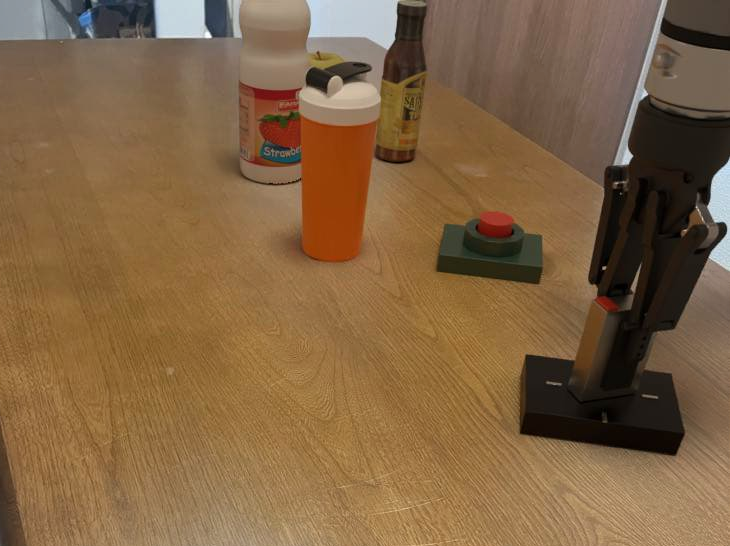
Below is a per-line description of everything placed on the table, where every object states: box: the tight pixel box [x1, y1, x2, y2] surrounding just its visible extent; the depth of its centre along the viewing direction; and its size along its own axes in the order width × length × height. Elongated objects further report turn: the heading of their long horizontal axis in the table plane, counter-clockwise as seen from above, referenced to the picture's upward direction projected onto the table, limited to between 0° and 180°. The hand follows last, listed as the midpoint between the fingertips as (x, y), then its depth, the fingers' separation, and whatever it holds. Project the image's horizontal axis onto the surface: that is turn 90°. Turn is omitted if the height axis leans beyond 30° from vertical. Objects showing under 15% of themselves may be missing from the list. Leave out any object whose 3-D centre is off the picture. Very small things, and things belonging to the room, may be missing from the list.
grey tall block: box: [567, 293, 658, 402], centre depth 77 cm, size 6×2×9 cm, turn 108°
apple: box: [308, 50, 346, 70], centre depth 143 cm, size 10×10×8 cm
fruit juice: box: [237, 0, 312, 185], centre depth 113 cm, size 9×9×28 cm
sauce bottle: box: [374, 0, 428, 162], centre depth 123 cm, size 7×6×20 cm
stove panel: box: [519, 353, 686, 456], centre depth 81 cm, size 14×10×3 cm
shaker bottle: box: [298, 61, 381, 263], centre depth 99 cm, size 9×9×20 cm
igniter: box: [436, 217, 544, 285], centre depth 104 cm, size 12×9×4 cm
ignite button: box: [477, 211, 515, 238], centre depth 102 cm, size 4×4×2 cm
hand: (605, 377), depth 80 cm, fingers closed on grey tall block, 2 cm apart
